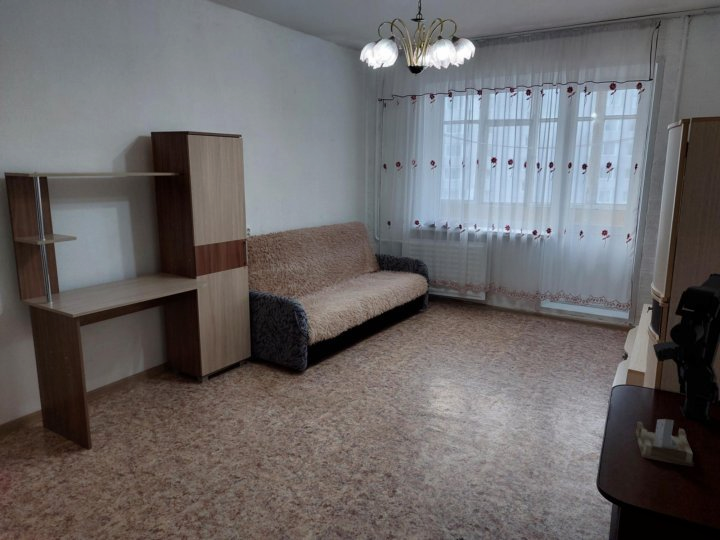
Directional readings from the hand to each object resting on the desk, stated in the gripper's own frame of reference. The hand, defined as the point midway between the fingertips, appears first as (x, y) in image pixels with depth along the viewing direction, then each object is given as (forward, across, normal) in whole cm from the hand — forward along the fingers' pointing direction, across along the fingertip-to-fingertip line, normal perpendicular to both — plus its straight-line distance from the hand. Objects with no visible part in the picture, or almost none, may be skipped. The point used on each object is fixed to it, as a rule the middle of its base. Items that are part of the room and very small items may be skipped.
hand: (684, 391), depth 134 cm
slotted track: (+13, +9, -5) cm, 17 cm away
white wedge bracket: (+12, +11, -5) cm, 17 cm away
